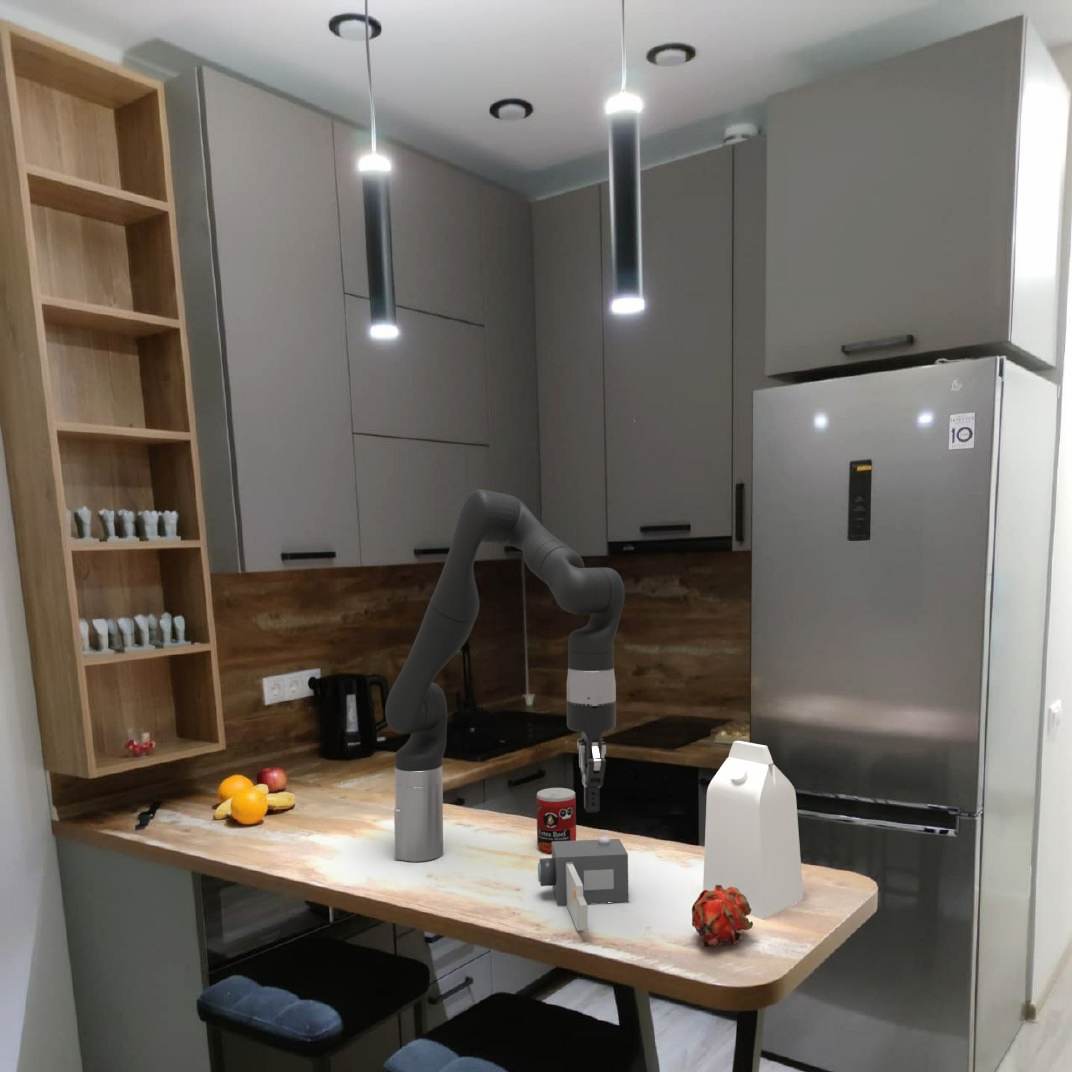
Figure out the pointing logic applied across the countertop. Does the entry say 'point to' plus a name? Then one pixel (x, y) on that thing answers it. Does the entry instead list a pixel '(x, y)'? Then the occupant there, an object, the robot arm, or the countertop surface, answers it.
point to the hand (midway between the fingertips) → (591, 810)
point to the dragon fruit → (721, 915)
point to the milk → (753, 832)
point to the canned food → (555, 817)
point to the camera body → (588, 869)
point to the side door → (575, 898)
